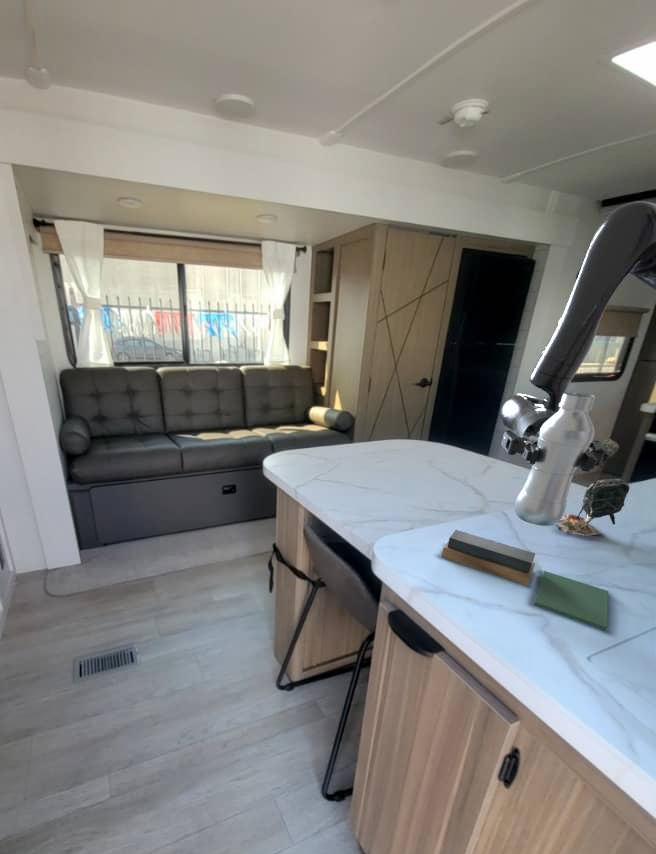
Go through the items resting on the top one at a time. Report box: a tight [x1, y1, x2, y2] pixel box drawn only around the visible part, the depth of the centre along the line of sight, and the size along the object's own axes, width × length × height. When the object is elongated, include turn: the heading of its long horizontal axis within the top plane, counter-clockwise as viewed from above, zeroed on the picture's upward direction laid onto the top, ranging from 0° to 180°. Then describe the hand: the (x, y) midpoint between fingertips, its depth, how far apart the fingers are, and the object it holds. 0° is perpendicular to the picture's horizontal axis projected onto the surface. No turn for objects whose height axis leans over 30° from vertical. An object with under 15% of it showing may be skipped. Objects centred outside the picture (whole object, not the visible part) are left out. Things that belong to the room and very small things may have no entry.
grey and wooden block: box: [440, 529, 536, 587], centre depth 71 cm, size 14×5×4 cm, turn 53°
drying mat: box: [533, 570, 609, 631], centre depth 64 cm, size 9×11×1 cm
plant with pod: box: [554, 438, 631, 538], centre depth 81 cm, size 8×11×20 cm
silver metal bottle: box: [514, 391, 596, 527], centre depth 61 cm, size 6×7×20 cm
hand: (561, 461), depth 58 cm, fingers closed on silver metal bottle, 6 cm apart
